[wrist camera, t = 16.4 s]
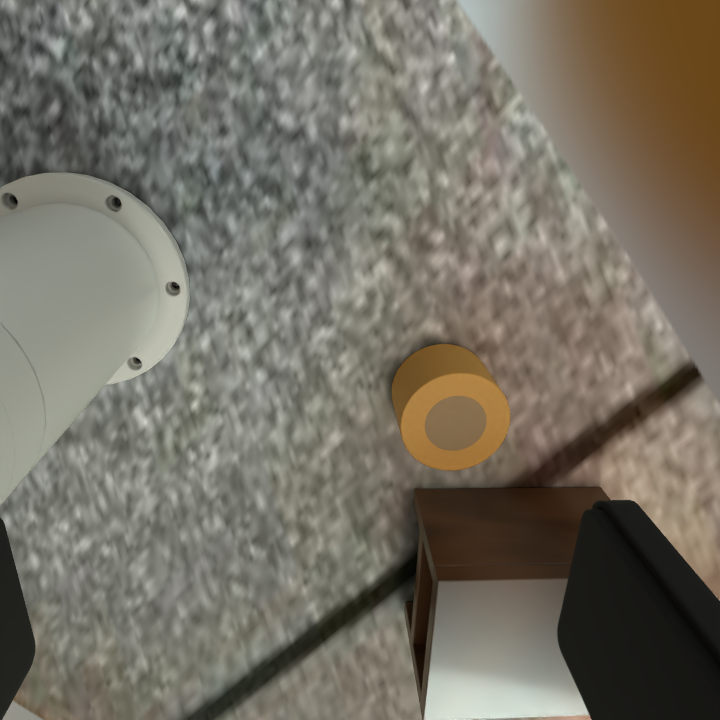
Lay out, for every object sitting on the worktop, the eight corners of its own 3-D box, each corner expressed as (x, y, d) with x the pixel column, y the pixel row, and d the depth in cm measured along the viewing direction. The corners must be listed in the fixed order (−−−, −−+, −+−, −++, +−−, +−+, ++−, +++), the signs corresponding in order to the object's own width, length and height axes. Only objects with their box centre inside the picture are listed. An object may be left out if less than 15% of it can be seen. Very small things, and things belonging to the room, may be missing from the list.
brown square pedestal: (404, 612, 45) (422, 722, 37) (414, 488, 40) (437, 580, 32) (572, 608, 46) (627, 714, 37) (600, 486, 41) (670, 575, 33)
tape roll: (389, 432, 38) (398, 472, 34) (393, 343, 36) (403, 373, 31) (483, 431, 39) (503, 470, 34) (493, 343, 36) (517, 372, 32)
